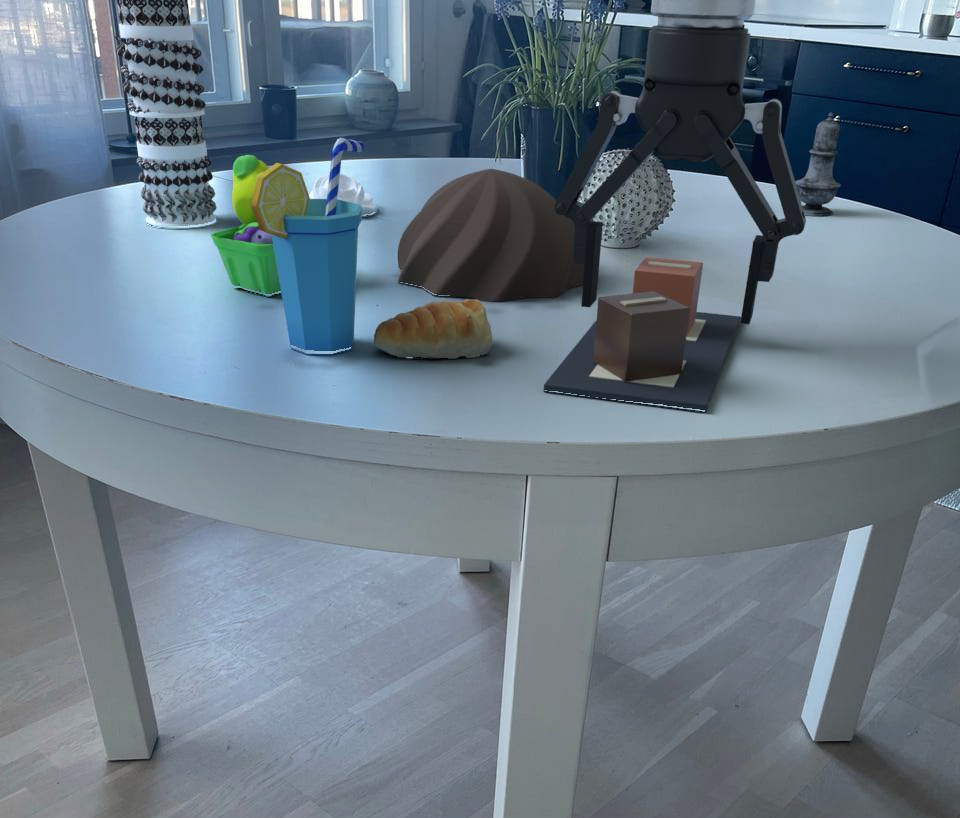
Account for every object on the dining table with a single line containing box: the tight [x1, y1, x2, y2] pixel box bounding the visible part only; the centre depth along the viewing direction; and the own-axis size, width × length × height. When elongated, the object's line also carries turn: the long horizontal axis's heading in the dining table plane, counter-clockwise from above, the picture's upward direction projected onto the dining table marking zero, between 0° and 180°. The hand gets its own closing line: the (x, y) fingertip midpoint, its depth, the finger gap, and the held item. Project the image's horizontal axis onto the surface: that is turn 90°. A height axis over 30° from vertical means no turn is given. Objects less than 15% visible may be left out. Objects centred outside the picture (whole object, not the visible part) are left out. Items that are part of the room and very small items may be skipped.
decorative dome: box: [397, 168, 584, 303], centre depth 101 cm, size 19×20×10 cm
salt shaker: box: [795, 111, 841, 217], centre depth 133 cm, size 6×6×12 cm
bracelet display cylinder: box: [114, 0, 218, 230], centre depth 116 cm, size 9×9×25 cm
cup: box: [251, 137, 365, 356], centre depth 80 cm, size 14×8×15 cm, turn 158°
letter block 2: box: [593, 291, 690, 381], centre depth 77 cm, size 5×5×5 cm
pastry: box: [373, 298, 494, 360], centre depth 82 cm, size 9×7×4 cm
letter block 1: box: [631, 256, 704, 337], centre depth 87 cm, size 5×5×5 cm
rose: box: [308, 173, 379, 218], centre depth 129 cm, size 10×4×10 cm
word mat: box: [543, 311, 741, 414], centre depth 83 cm, size 24×12×1 cm, turn 162°
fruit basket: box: [210, 154, 282, 298], centre depth 97 cm, size 11×9×11 cm
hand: (666, 311), depth 87 cm, fingers open, 13 cm apart
